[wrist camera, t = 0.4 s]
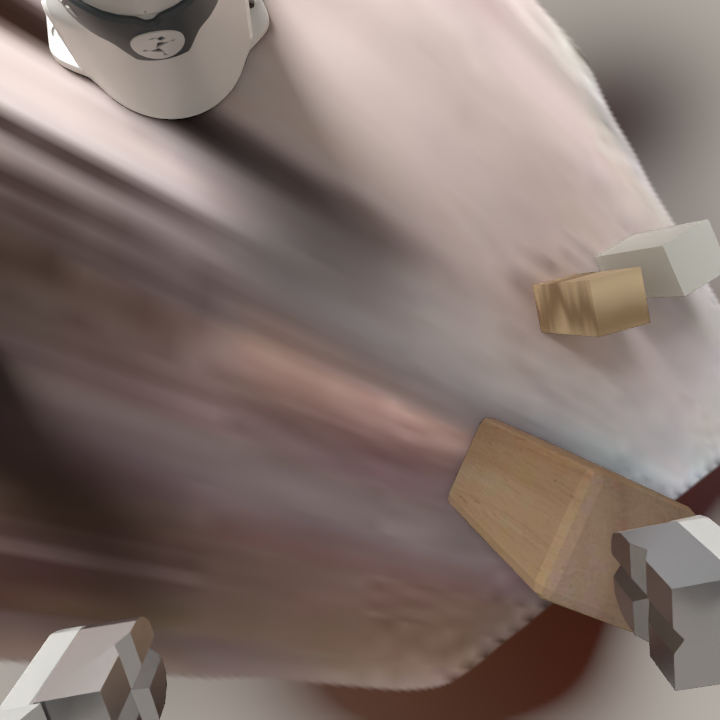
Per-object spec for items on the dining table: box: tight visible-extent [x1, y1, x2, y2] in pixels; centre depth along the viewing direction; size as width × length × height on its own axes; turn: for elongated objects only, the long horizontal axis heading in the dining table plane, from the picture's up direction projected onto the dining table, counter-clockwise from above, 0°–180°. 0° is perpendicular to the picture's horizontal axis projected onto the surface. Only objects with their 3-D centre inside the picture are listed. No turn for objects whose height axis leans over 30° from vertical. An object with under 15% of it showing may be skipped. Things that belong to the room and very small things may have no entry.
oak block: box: [532, 267, 650, 337], centre depth 52 cm, size 5×5×10 cm
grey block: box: [594, 219, 720, 298], centre depth 53 cm, size 5×5×10 cm
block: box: [448, 418, 696, 632], centre depth 47 cm, size 10×10×20 cm
